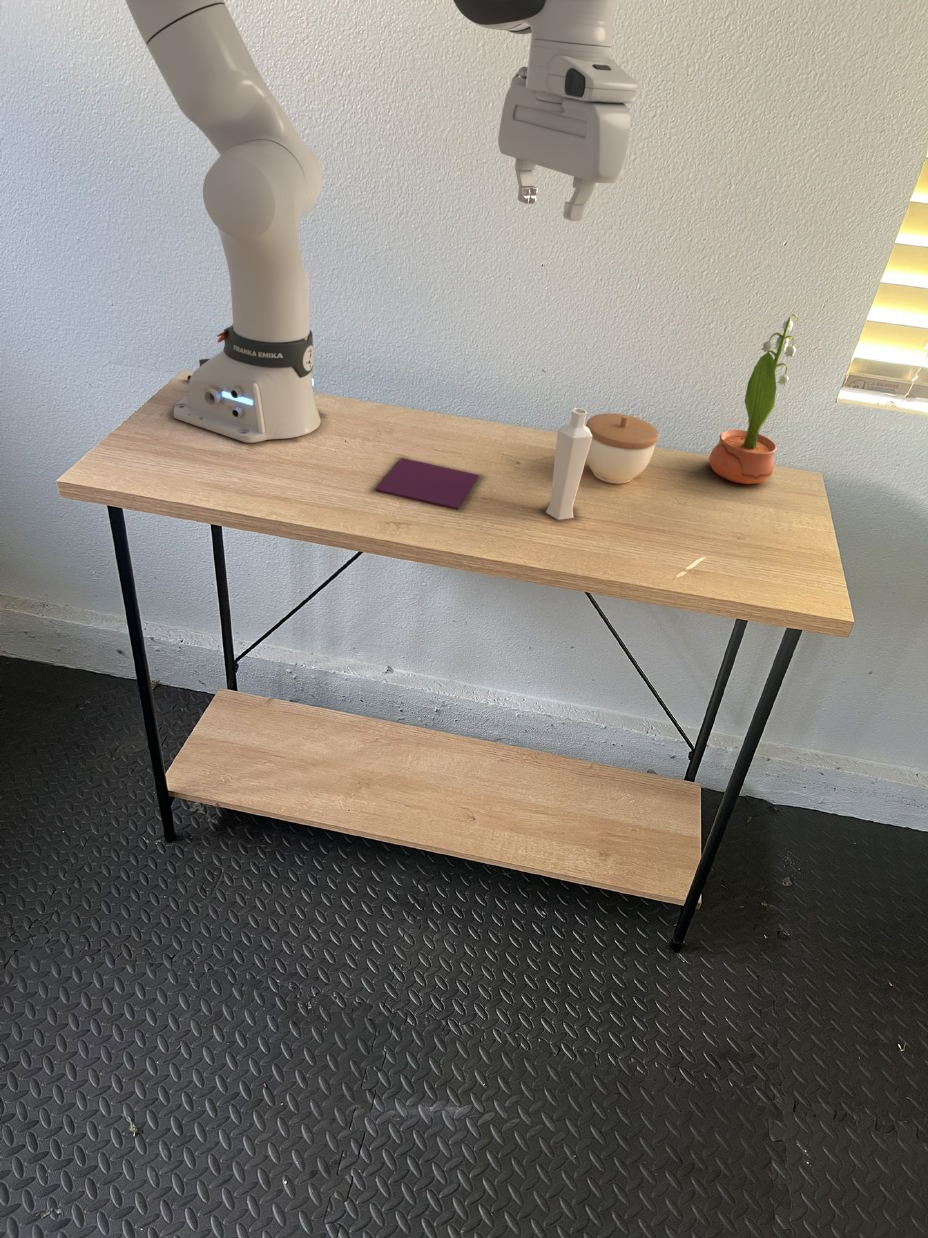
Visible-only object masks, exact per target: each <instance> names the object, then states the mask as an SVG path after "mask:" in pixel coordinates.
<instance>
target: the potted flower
mask: <svg viewBox="0 0 928 1238" xmlns="http://www.w3.org/2000/svg"><path fill="white" fill-rule="evenodd" d="M793 316H794V317H795V318H796V320H797V326H799V323H800V319H799V317H798V315H797V314H795V313H791V315H790V316H789V317H788V318H787V320H785V321H783V323H782V326H781V329H783V333H782V334H781V333H780V332H774V333H773V334H771V336H770V338H769V340H767V341H764V342H763V344H762V348H761V351H763V353H765V354H763V355H762V356H760V357H759V359H758V361H757V363H756V364H755V365H754V366H753V367H754V368H753V370H752V372H751V375H750V377H749V380H748V382H747V386H746V391H745V396H744V405H745V408H746V413H747V419H748V426H747V430H745V429H729V430H725V431H722V432H721V433H720V435H719V441H718V443H717V444H716V445H715V446H714V447H713V449H712V450H711V452H710V454H709V457H708V462H709V464H710V468H711V469H712V471H713V472H714V473H716V474H717V475H718V476H719V477H721V478H723V479H724V480H727V481H730V482H733V483H736V484H742V485H754V484H760V483H764V482H765V481H766V480H768V479H769V478H770V477H771V476H772V475H773V474H774V469H775V459H774V454H775V452H776V451H777V449H778V447H777V445H776V443H775V442H774V441H773V440H772V439H771V438H769V437H767V436H765V435H762V434H760V431H761V429H762V427H763V425H764V424H765V423H766V421H767V420H768V418H769V416H770V414H771V413H772V411H773V409H774V408H775V401H776V393H777V384H779V385H782V386H783V385H784V386H787V385H788V382H789V379H790V378H789V376H788V375H787V371H788V364H787V363H786V362H780V363H779V360H780V358H781V355H782V352H783V354H784V355H785V357H791V358H794V356H795V353H796V349H797V348H796V347H795V346H794V344H795V337H794V336H793V335H791V334H790V335H787V334H788V332H791V330H792V328H793V325H794V322H793V321H792V317H793ZM774 336H777V339H776V341H775V344H773V342H772V341H771V340H772V338H773V337H774ZM789 339H791V341H792V344H791V345H788V344H789ZM774 346H775V347H774ZM772 348H773V349H774V350H776V352H775V351H774V350H772ZM773 356H774V357H773ZM783 365H784V366H785V372H784V374H781V375H780V376H779V377H778V381H777V379H776V371H777V368H778V367H780V366H783Z"/></svg>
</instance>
